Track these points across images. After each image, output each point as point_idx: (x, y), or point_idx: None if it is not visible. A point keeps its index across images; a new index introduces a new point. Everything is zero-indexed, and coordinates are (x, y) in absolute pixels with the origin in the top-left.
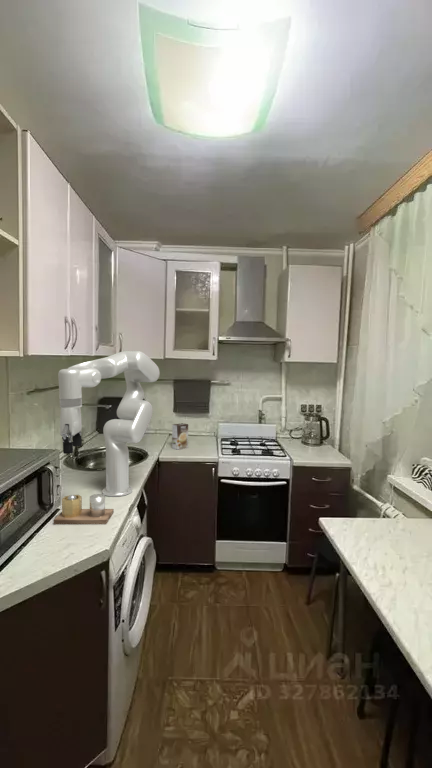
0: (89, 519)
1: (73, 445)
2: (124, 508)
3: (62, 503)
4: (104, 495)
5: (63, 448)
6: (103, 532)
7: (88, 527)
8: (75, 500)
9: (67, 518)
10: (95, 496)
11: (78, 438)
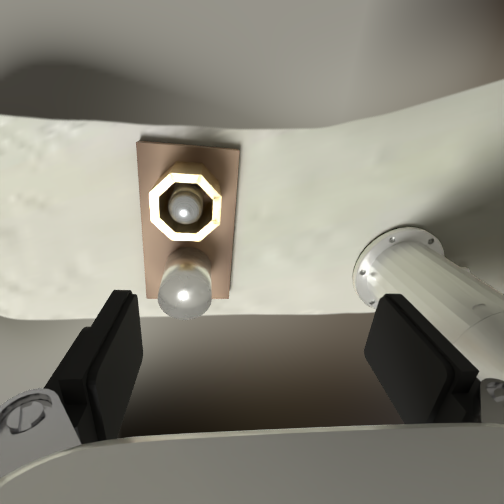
0: (148, 255)
1: (383, 302)
2: (258, 310)
3: (169, 172)
4: (193, 317)
5: (96, 321)
6: (97, 296)
7: (125, 253)
8: (161, 228)
9: (152, 187)
10: (183, 293)
11: (407, 402)
